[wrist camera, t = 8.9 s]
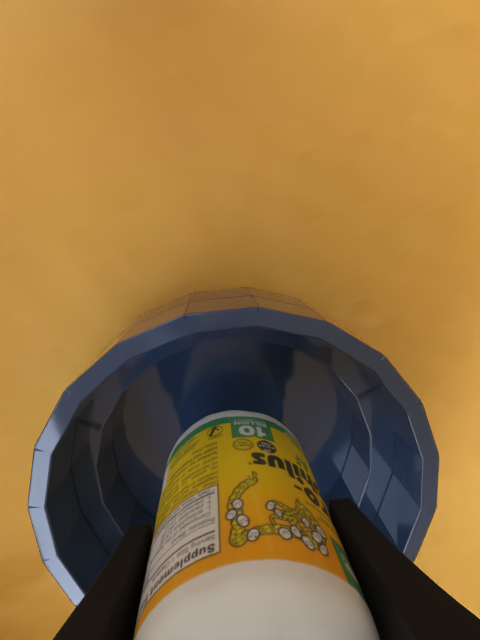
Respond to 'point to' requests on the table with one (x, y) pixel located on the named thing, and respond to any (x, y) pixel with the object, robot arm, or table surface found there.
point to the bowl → (217, 396)
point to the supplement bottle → (246, 543)
